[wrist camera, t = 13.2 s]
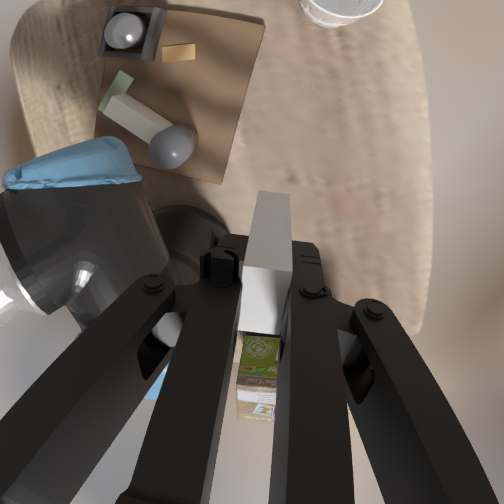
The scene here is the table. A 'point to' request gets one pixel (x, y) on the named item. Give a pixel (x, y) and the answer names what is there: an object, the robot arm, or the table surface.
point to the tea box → (257, 377)
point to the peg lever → (154, 131)
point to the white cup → (337, 11)
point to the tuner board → (183, 82)
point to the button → (126, 31)
